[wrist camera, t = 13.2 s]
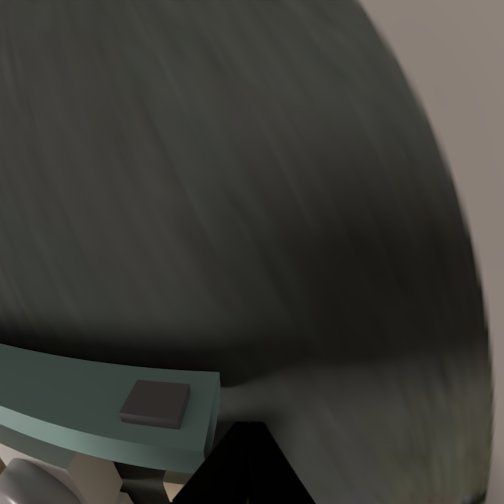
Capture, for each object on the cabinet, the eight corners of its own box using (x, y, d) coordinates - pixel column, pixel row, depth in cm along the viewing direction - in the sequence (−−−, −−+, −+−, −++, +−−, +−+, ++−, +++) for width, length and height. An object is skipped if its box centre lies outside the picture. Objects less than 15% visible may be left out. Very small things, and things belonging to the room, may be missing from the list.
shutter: (221, 395, 10) (207, 474, 7) (-43, 347, 10) (-84, 378, 7) (218, 362, 10) (201, 441, 6) (-51, 323, 10) (-94, 351, 7)
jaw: (95, 421, 11) (44, 507, 6) (123, 482, 12) (93, 557, 7) (20, 401, 11) (-35, 463, 6) (52, 462, 12) (14, 523, 7)
